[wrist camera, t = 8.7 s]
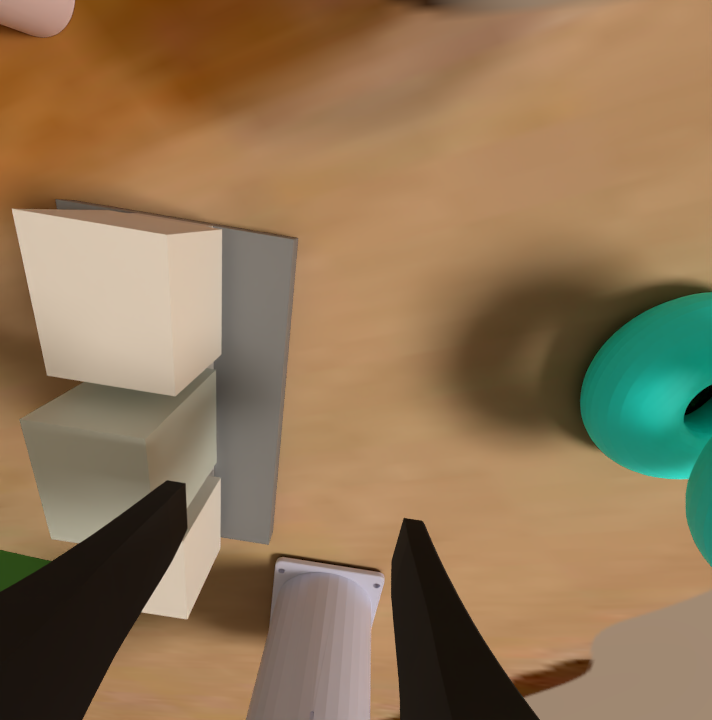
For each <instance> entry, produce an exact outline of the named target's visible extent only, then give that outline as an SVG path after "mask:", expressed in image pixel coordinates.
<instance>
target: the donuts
mask: <svg viewBox="0 0 712 720" xmlns="http://www.w3.org/2000/svg"><path fill="white" fill-rule="evenodd" d="M710 385H712V292H705V293H698V294H692V295H688V296H684V297H680V298H677V299H674V300H671V301H668V302H665V303H663V304H660V305H658V306H655V307H653V308H651V309H649V310H647V311H645V312H643V313H642V314H640V315H638V316H637V317H635V318H633V319H632V320H630V321H629V322H628V323H626V324H625V325H624V326H622V327H621V328H620V329H619V330H618V331H616V332H615V333H614V334H613V335H612V336H611V337H610V338H609V339H608V340H607V341H606V342H605V344H604V345H603V346H602V347H601V348H600V350H599V351H598V352H597V354H596V355H595V357H594V359H593V360H592V362H591V364H590V366H589V368H588V370H587V372H586V374H585V377H584V380H583V384H582V388H581V397H580V409H581V416H582V420H583V423H584V426H585V428H586V430H587V432H588V435H589V436H590V438H591V440H592V441H593V442H594V444H595V445H596V446H597V447H598V448H599V449H600V450H601V451H602V452H603V453H604V454H605V455H606V456H607V457H609V458H610V459H612V460H613V461H615V462H616V463H618V464H619V465H621V466H623V467H625V468H627V469H629V470H632V471H635V472H638V473H641V474H644V475H648V476H652V477H659V478H667V479H689V480H688V484H687V490H686V518H687V522H688V526H689V529H690V532H691V535H692V537H693V540H694V542H695V544H696V546H697V547H698V549H699V551H700V552H701V554H702V555H703V557H704V558H705V559H706V561H707V562H708V563H709V564H710V566H711V567H712V397H711V398H710V399H709V400H708V401H707V402H706V403H705V404H704V405H702V406H701V407H700V408H698V409H697V410H695V411H693V412H692V413H690V414H688V415H685V416H684V414H685V411H686V408H687V406H688V405H689V403H690V402H691V400H692V399H693V398H694V397H695V396H696V395H697V394H698V393H700V392H701V391H702V390H703V389H705V388H707V387H708V386H710Z"/></svg>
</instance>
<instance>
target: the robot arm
mask: <svg viewBox="0 0 712 720" xmlns="http://www.w3.org/2000/svg"><path fill="white" fill-rule="evenodd" d="M187 529H188V525H187V503H186V483H181V482H175V481H169V480H167V481H165V482H164V483H162V484H161V485H160V486H158V487H157V488H155V489H154V490H153V491H151V492H150V493H149V494H147V495H146V496H145V497H143V498H142V499H141V500H139V501H138V502H137V503H135V504H134V505H133V506H131V507H130V508H129V509H127V510H126V511H125V512H123V513H122V514H120V515H119V516H118V517H116V518H115V519H113V520H112V521H111V522H109V523H108V524H107V525H105V526H104V527H102V528H101V529H100V530H98V531H97V532H95V533H94V534H92V535H91V536H89V537H88V538H86V539H85V540H83V541H82V542H80V543H79V544H77V545H76V546H74V547H73V548H71V549H70V550H68V551H67V552H65V553H64V554H62V555H61V556H59V557H58V558H56V559H55V560H53V561H51V562H50V563H48V564H47V565H45V566H43V567H42V568H40V569H38V570H37V571H35V572H34V573H32V574H30V575H28V576H27V577H25V578H23V579H22V580H20V581H18V582H17V583H15V584H13V585H11V586H10V587H8V588H6V589H4V590H2V591H1V592H0V720H82V719H83V717H84V715H85V713H86V711H87V709H88V707H89V705H90V703H91V701H92V699H93V697H94V695H95V693H96V691H97V689H98V688H99V686H100V684H101V682H102V680H103V678H104V676H105V674H106V672H107V670H108V668H109V666H110V664H111V662H112V660H113V658H114V657H115V655H116V653H117V651H118V650H119V648H120V646H121V644H122V643H123V641H124V639H125V638H126V636H127V634H128V633H129V631H130V629H131V628H132V626H133V625H134V623H135V621H136V620H137V618H138V616H139V615H140V613H141V612H142V610H143V608H144V607H145V605H146V604H147V602H148V600H149V599H150V597H151V595H152V594H153V592H154V591H155V589H156V587H157V586H158V584H159V582H160V581H161V579H162V577H163V576H164V574H165V573H166V571H167V569H168V568H169V566H170V564H171V563H172V561H173V559H174V557H175V555H176V553H177V551H178V548H179V546H180V544H181V542H182V540H183V538H184V536H185V533H186V531H187ZM383 585H384V575H383V574H382V573H380V572H376V571H369V570H363V569H357V568H350V567H344V566H337V565H331V564H325V563H318V562H312V561H306V560H299V559H293V558H287V557H280V558H278V559H277V561H276V564H275V573H274V584H273V594H272V605H271V615H270V626H269V631H268V635H267V639H266V643H265V647H264V651H263V655H262V659H261V663H260V667H259V670H258V674H257V678H256V682H255V686H254V690H253V694H252V698H251V702H250V705H249V709H248V713H247V717H246V720H370V678H371V627H372V624H373V620H374V617H375V613H376V610H377V606H378V603H379V599H380V595H381V592H382V588H383ZM391 598H392V610H393V622H394V633H395V644H396V655H397V666H398V677H399V693H400V720H540V719H539V718H538V717H537V716H536V714H535V713H534V711H533V710H532V709H531V707H530V706H529V705H528V703H527V702H526V701H525V699H524V698H523V697H522V695H521V694H520V693H519V691H518V690H517V689H516V687H515V686H514V684H513V683H512V681H511V680H510V679H509V677H508V676H507V674H506V673H505V671H504V670H503V668H502V667H501V665H500V664H499V662H498V661H497V659H496V658H495V656H494V655H493V653H492V652H491V650H490V649H489V647H488V646H487V644H486V642H485V641H484V639H483V638H482V636H481V634H480V633H479V631H478V629H477V628H476V626H475V624H474V623H473V621H472V619H471V617H470V616H469V614H468V612H467V610H466V609H465V607H464V605H463V603H462V601H461V600H460V598H459V596H458V594H457V592H456V590H455V588H454V586H453V584H452V582H451V581H450V579H449V577H448V575H447V573H446V571H445V569H444V567H443V565H442V562H441V560H440V558H439V556H438V554H437V552H436V550H435V547H434V545H433V543H432V541H431V538H430V536H429V534H428V531H427V529H426V526H425V524H424V523H423V521H420V520H413V519H407V518H404V519H403V523H402V526H401V530H400V533H399V537H398V540H397V544H396V547H395V551H394V554H393V558H392V569H391Z"/></svg>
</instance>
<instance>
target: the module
mask: <svg viewBox="0 0 712 720" xmlns="http://www.w3.org/2000/svg"><path fill="white" fill-rule="evenodd" d="M19 420H20V423H21V427H22V431H23V435H24V438H25V442H26V446H27V450H28V453H29V457H30V461H31V465H32V468H33V472H34V476H35V480H36V483H37V487H38V491H39V495H40V498H41V502H42V506H43V510H44V513H45V517H46V521H47V525H48V528H49V532H50V536H51V539H54V540H61V541H68V542H74V543H80V542H82V541H83V540H85V539H86V538H88V537H89V536H91V535H92V534H94V533H95V532H97V531H98V530H100V529H101V528H102V527H104V526H105V525H107V524H108V523H109V522H111V521H112V520H113V519H115V518H116V517H118V516H119V515H120V514H122V513H123V512H125V511H126V510H127V509H129V508H130V507H131V506H133V505H134V504H135V503H137V502H138V501H139V500H141V499H142V498H143V497H145V496H146V495H147V494H149V493H150V492H151V491H153V490H154V489H155V488H157V487H158V486H160V485H161V484H162V483H164V482H165V481H167V480H169V481H175V482H181V483H186V503H187V508H188V506H189V505H190V503H191V502H192V500H193V499H194V497H195V495H196V494H197V492H198V491H199V489H200V488H201V486H202V484H203V483H204V481H205V480H206V478H207V477H208V475H209V474H210V472H211V470H212V469H213V467H214V466H215V464H216V463H217V444H216V370H214V369H208V368H206V369H205V370H204V371H203V372H202V373H201V374H199V375H198V376H197V377H196V378H195V379H194V380H193V381H192V382H191V383H190V384H188V385H187V386H186V387H185V388H184V389H183V390H182V391H181V392H180V393H179V394H177V395H176V396H170V395H164V394H157V393H151V392H145V391H139V390H133V389H127V388H120V387H114V386H108V385H102V384H96V383H90V382H83V383H81V384H80V385H78V386H76V387H74V388H73V389H71V390H69V391H67V392H66V393H64V394H62V395H61V396H59V397H57V398H55V399H54V400H52V401H50V402H48V403H47V404H45V405H43V406H41V407H40V408H38V409H36V410H34V411H33V412H31V413H29V414H28V415H26V416H24V417H22V418H21V419H19Z"/></svg>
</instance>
